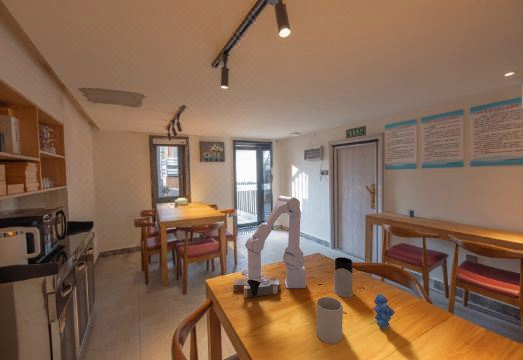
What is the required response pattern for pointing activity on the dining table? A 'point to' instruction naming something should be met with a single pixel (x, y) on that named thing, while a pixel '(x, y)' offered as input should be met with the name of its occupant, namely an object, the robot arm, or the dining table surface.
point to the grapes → (382, 311)
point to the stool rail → (241, 283)
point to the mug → (329, 320)
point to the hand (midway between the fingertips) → (254, 295)
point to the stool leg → (261, 290)
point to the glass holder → (343, 277)
